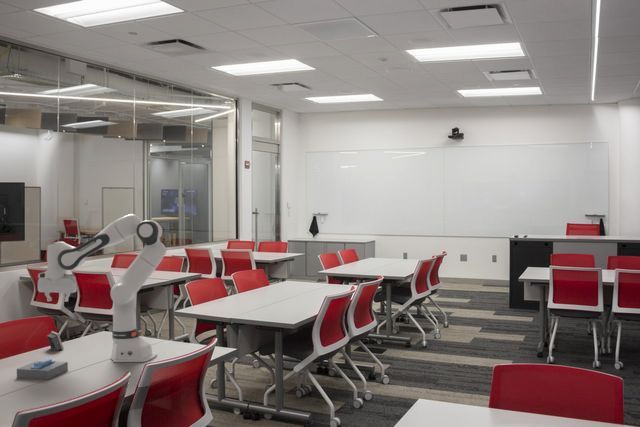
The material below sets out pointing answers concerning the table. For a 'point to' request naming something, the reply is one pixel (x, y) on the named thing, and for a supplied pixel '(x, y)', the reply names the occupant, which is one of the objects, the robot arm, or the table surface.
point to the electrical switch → (55, 341)
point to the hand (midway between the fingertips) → (57, 301)
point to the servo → (42, 363)
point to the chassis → (42, 371)
